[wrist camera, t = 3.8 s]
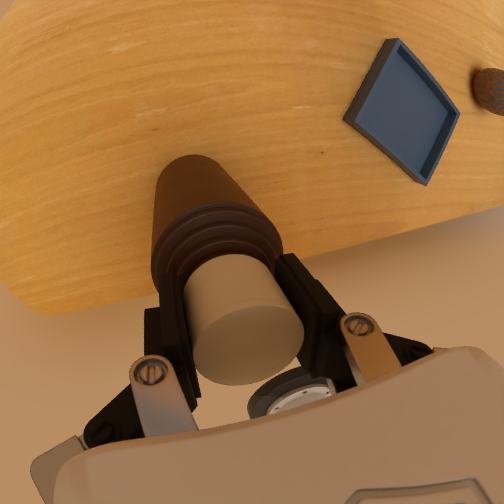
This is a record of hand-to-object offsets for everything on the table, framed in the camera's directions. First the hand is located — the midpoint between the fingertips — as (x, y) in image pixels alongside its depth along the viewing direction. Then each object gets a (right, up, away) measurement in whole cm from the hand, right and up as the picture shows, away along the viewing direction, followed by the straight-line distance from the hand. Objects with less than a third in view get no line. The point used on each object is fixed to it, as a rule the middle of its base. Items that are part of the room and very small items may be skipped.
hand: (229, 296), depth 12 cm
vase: (+33, +25, +15) cm, 45 cm away
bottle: (-4, +7, +13) cm, 15 cm away
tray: (+18, +17, +15) cm, 28 cm away
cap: (0, 0, 0) cm, 0 cm away
